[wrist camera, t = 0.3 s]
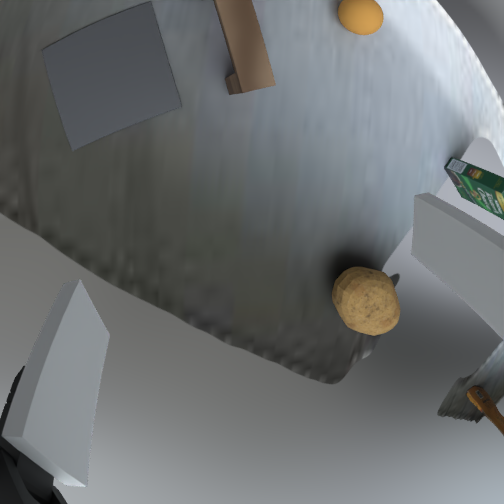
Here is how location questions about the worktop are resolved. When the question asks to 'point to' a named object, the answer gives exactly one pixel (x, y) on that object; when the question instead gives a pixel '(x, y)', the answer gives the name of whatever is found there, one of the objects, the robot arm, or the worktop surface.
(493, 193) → the coffee box
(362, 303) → the potato
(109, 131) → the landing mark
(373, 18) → the ball
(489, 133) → the worktop surface
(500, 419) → the pancake mix bag
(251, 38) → the bridge
